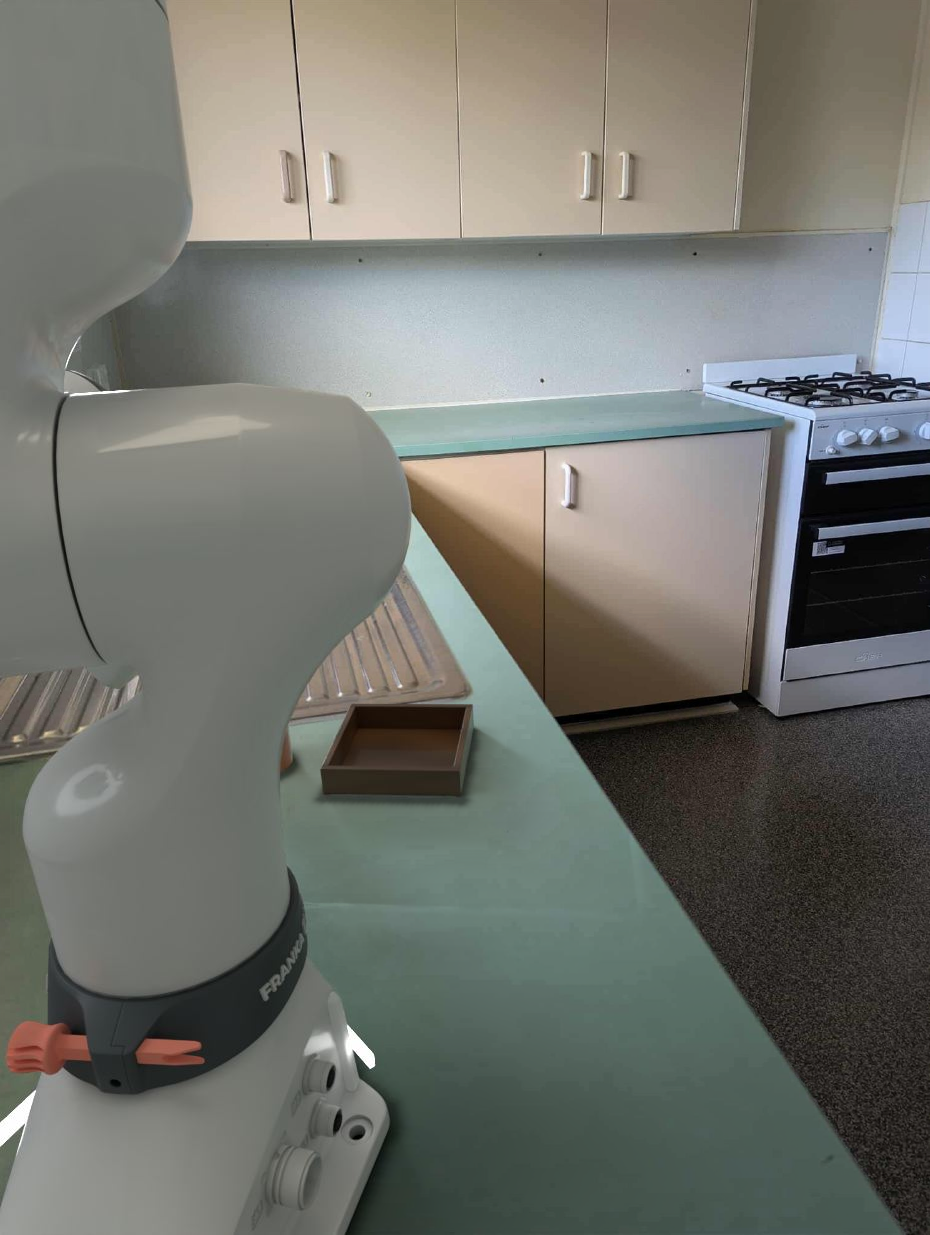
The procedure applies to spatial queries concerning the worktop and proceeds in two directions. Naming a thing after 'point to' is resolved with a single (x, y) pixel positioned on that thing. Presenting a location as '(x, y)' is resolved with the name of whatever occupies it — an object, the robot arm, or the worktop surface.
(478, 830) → the worktop surface
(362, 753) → the tray
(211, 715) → the robot arm
